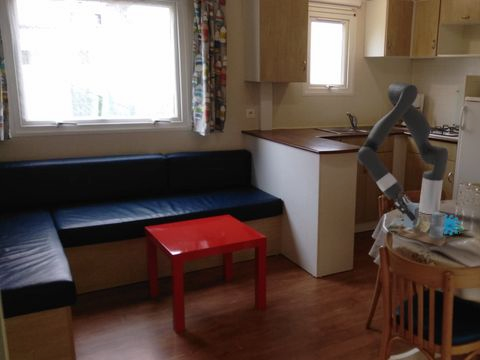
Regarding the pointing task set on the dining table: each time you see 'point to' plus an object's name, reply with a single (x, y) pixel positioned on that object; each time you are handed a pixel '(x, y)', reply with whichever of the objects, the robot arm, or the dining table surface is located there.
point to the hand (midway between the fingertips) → (415, 218)
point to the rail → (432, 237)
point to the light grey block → (414, 209)
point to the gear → (452, 225)
